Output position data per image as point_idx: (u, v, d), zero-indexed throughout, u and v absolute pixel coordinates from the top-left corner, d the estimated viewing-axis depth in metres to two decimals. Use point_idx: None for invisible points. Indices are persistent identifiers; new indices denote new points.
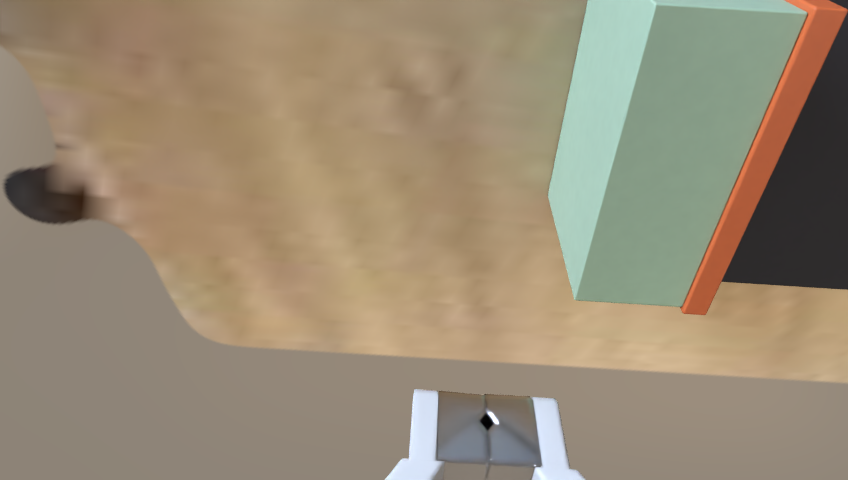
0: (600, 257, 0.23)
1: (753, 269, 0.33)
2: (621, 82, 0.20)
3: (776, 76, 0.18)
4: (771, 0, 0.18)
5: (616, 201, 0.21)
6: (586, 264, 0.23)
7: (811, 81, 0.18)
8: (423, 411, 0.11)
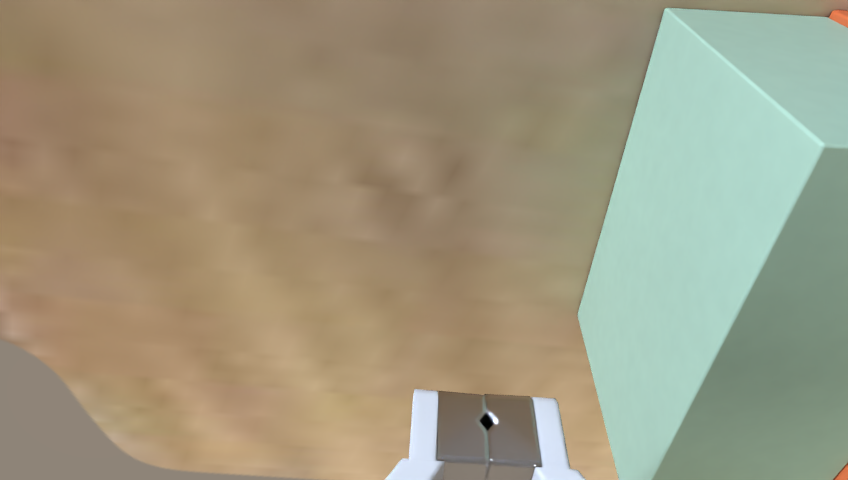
0: (674, 477, 0.15)
1: None
2: (726, 241, 0.12)
3: None
4: None
5: (708, 414, 0.13)
6: None
7: None
8: (423, 411, 0.11)
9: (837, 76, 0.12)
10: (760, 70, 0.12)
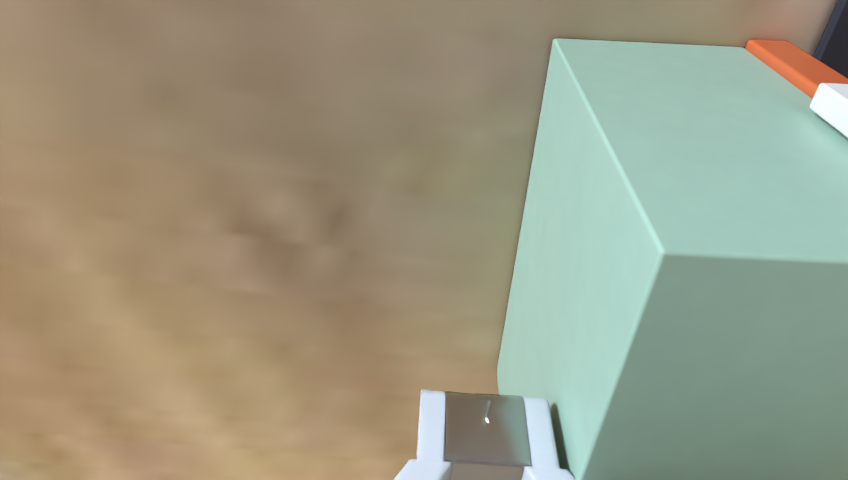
0: None
1: None
2: (588, 342, 0.09)
3: None
4: None
5: None
6: None
7: None
8: (430, 412, 0.11)
9: (724, 133, 0.09)
10: (628, 127, 0.10)
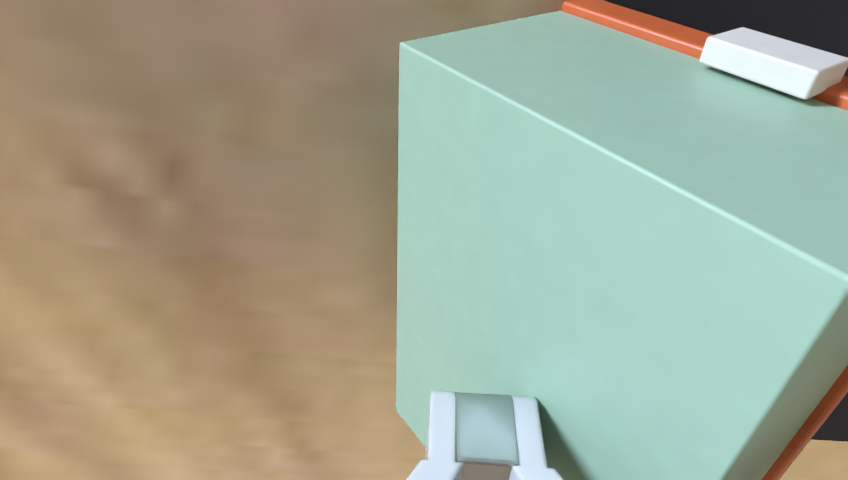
0: None
1: None
2: (666, 380, 0.08)
3: None
4: None
5: None
6: None
7: None
8: (441, 412, 0.11)
9: (685, 112, 0.09)
10: (617, 135, 0.08)
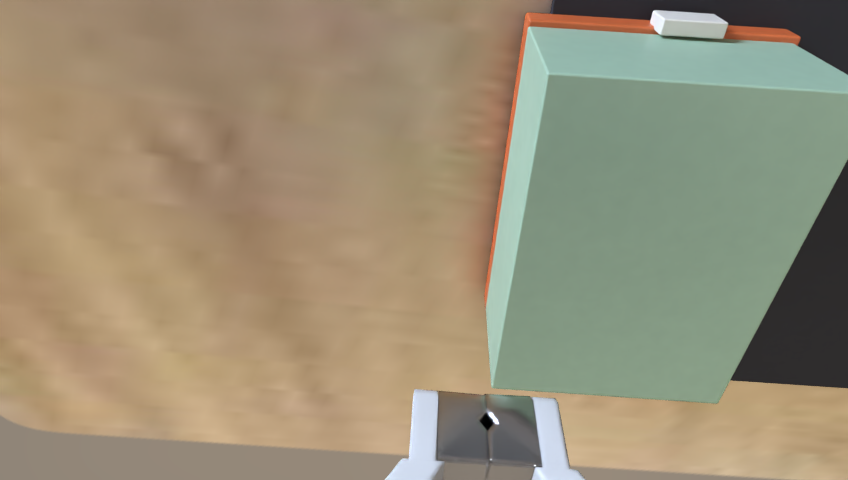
0: None
1: None
2: (784, 191, 0.16)
3: None
4: (761, 44, 0.18)
5: None
6: (736, 365, 0.20)
7: None
8: (423, 411, 0.11)
9: (715, 59, 0.16)
10: (736, 78, 0.15)
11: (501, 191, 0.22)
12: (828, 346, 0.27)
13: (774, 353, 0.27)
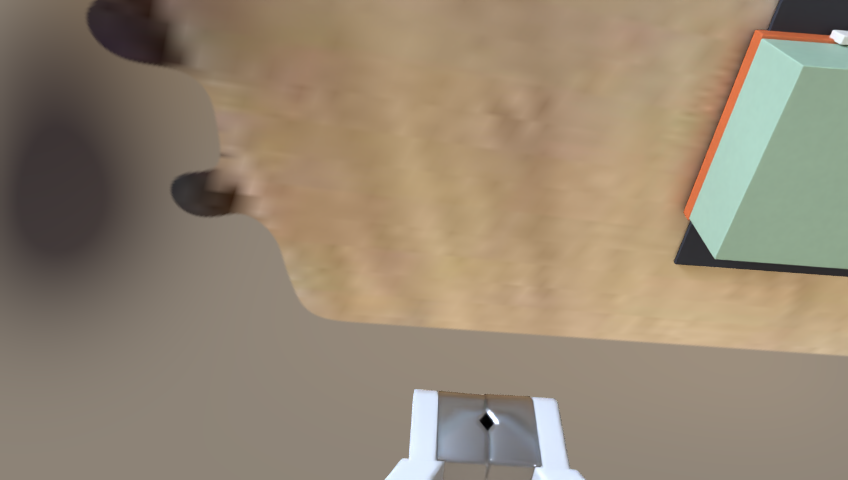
0: None
1: None
2: None
3: None
4: None
5: None
6: None
7: None
8: (423, 411, 0.11)
9: None
10: None
11: (717, 139, 0.35)
12: None
13: None
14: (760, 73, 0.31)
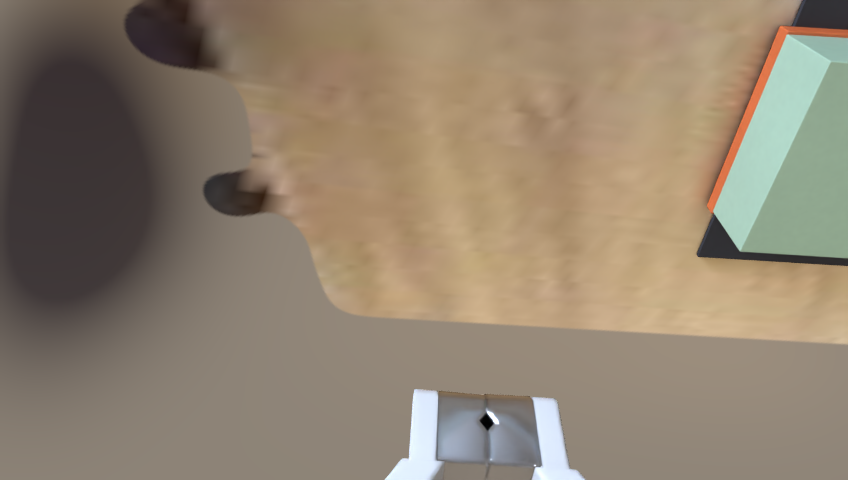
0: None
1: None
2: None
3: None
4: None
5: None
6: None
7: None
8: (423, 411, 0.11)
9: None
10: None
11: (741, 133, 0.36)
12: None
13: None
14: (785, 68, 0.32)
